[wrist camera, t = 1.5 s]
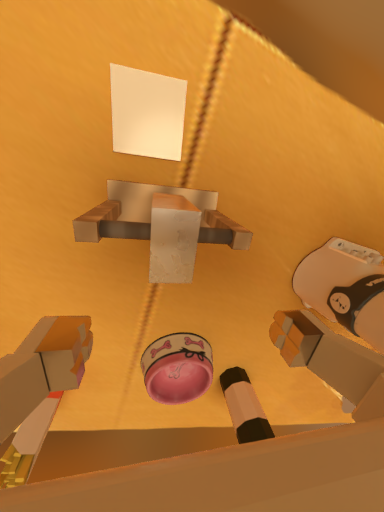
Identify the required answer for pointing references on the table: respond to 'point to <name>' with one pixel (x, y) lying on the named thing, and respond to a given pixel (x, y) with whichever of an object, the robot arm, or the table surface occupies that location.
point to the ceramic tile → (147, 113)
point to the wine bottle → (244, 407)
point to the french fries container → (28, 442)
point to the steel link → (173, 238)
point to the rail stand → (140, 209)
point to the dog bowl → (177, 368)
